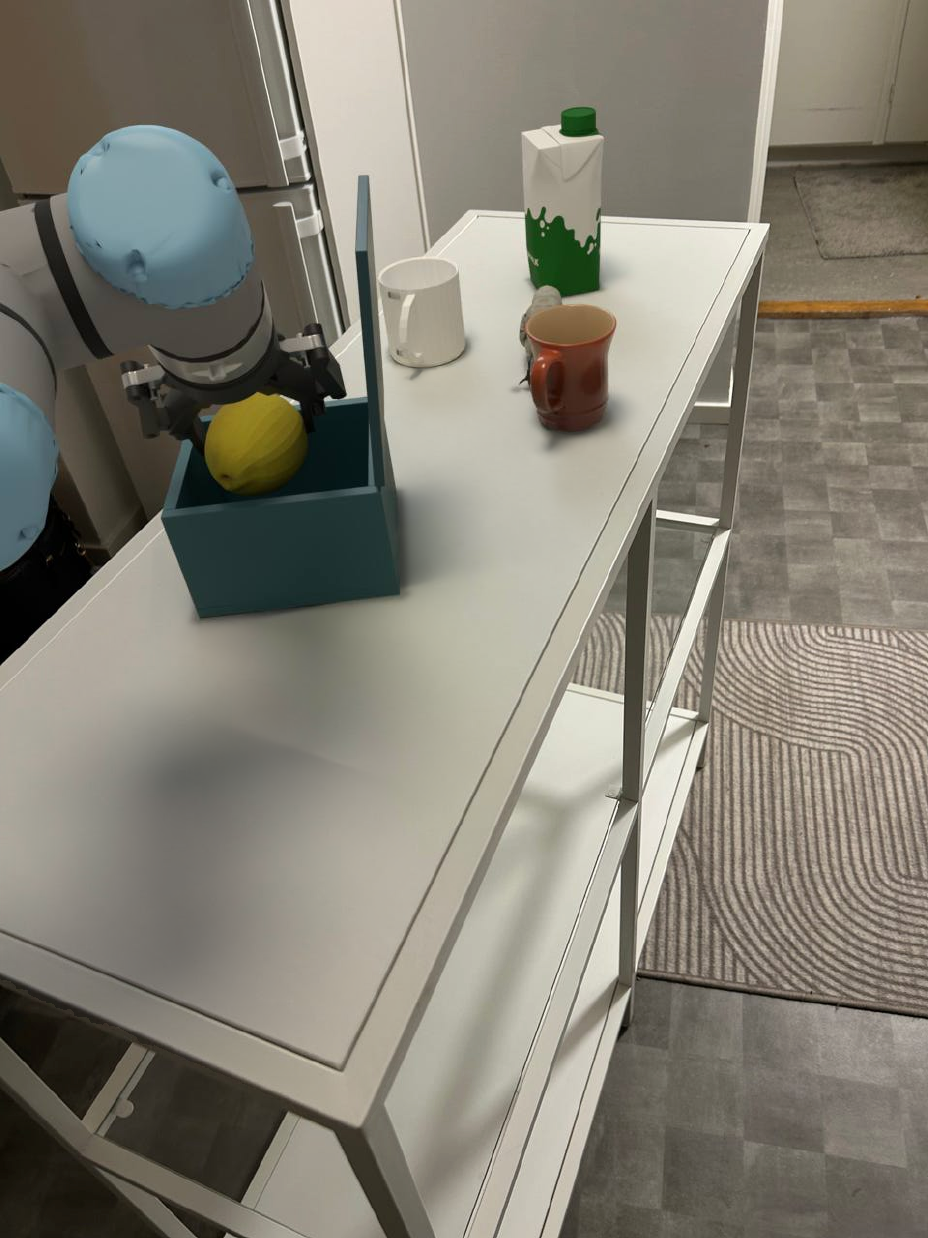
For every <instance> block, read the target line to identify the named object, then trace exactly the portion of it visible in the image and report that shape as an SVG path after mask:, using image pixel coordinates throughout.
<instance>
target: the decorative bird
mask: <svg viewBox="0 0 928 1238" xmlns="http://www.w3.org/2000/svg"><path fill="white" fill-rule="evenodd" d="M559 305H564V303H563V299H562V297H561V296H560V293H559V291H558V290H557V289H556V288H554V287H551V286H547V285H546V286H543V287H541V288H539V289H538V288H537V289H536V290H535V292H534V294H533V297H532V300H531V304H530V305H529V307H527V310H526V311H525V313H524V314H522V317H521V321H520V325H519V337H518V338H519V341H520V344H521V347H523V348H524V349H525V355H526V361H527V369H526V374H525V375H524V376H525V377H524V378H522V379H521V380H520V381H519V384H518V386H520V385H521V384H522V383H524V382H527V385H528V388H531V387H530V375H531V369H532V367H531V366H532V365H531V364H532V360H533V361H534V356H533V352H532V348H531V345H530V342H529V340H528V337H527V335H526V332H525V324H526V322H527V321H528V319H529V318H530V317H531V316H533V315H534V314H536V313H537V312H539V311H541V310H544V309H547V308H550V307H554V306H559Z"/></svg>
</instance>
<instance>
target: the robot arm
mask: <svg viewBox="0 0 928 1238" xmlns="http://www.w3.org/2000/svg"><path fill="white" fill-rule="evenodd" d="M146 346H147V348H148V349H149V350H150V352H151V353H152V355H153V356H154V359H155V360H156V361H157V365H154V366H152V365H151V364H149V363H145V364H141V363H140V362H138V361H136V360H131V359H128V360H124V361H122V362H120V363H119V365H118V368H119V370H120V371H119V372H120V375H121V379H122V384H123V388H124V392H125V398H126V401H127V402H128V403H130V404H131V405H133V406H134V407H135V409H136V412H137V417H138V422H139V426H140V429H141V434H142V437H143V439H146V440H153V439H155V438H158V437H160V432H168V436H171V437H174V439H175V440H176V441H179V442H183V440H187V439H189V440H190V441H191V442H192V444H193V445H194V447H195V448H196V449H197V451H198V452H199V453H200V455H201V456H204V455H205V449H204V448H205V440H206V433H205V429H204V425H203V422H202V421H201V419H200V417H199V416H200V415H199V414H200V413H201V411H202V410H205V409H206V410H207V409H210V408H211V407H212V405H216V406H224V405H227V404H233V403H237V402H240V401H243V400H245V399H247V398H249V397H251V396H253V395H254V394H256V393H257V392H259V393H261V394H264V395H267V396H270V395H273V394H276V395H279V396H281V397H282V396H283V397H285V398H288V399H291V400H293V401H296V402H298V403H299V404H298V405H300V408H301V412H302V416H303V420H304V424H305V427H306V432H307V434H308V433H313V432H315V427H314V422H313V417H312V416H320V415H323V414H325V413H327V410H326V406H325V399H326V398H328V397H330V398H331V399H332V400H342V399H346V397H347V396H348V393H347V388H346V385H345V381H344V377H343V373H342V369H341V364H340V363H339V361H338V360H337V359H336V357H335V356H334V354H333V353H332V351H331V350H330V349H329V348H328V346H327V341H326V338H325V333H324V330H323V327H322V324H321V323H318V322H316V323H315V322H313V323H309V324H307V325H306V326H304V328H303V332H299V333H297V334H295V337H292V338H286V337H285V336H284V334H283V333H282V332H281V331H277V330H276V326H275V321H274V318H273V315H272V310H271V306H270V302H269V298H268V294H267V291H266V286H265V283H264V279H263V277H262V274H261V269H260V265H259V260H258V256H257V252H256V246H255V238H254V237H253V234H252V229H251V227H250V224H249V220H248V218H247V215H246V212H245V209H244V206H243V203H242V202H241V199H240V197H239V194H238V191H237V188H236V186H235V184H234V182H233V180H232V179H231V177H230V175H229V173H228V170H227V169H226V168H225V166H224V165H223V164H222V163H221V161H220V159H218V157H217V156H216V155H215V154H214V153H213V152H212V151H211V150H210V149H209V148H208V147H207V146H206V145H204V144H203V143H201V142H200V141H199V140H197V139H195V138H193V137H192V136H190V135H188V134H186V133H184V132H182V131H179V130H177V129H175V128H170V127H166V126H162V125H153V124H138V125H129V126H125V127H121V128H118V129H116V130H113V131H111V132H109V133H107V134H105V135H104V136H103V137H102V138H101V139H100V140H99V141H97V142H96V143H95V144H94V145H93V146H92V147H91V148H90V149H89V150H88V151H86V153H84V154H82V155H81V156H80V157H79V159H78V160H77V162H76V164H75V165H74V168H73V170H72V172H71V174H70V178H69V180H68V186H67V190H66V192H64V193H59V194H55V195H51V196H50V198H47V199H42V200H39V201H36V202H32V203H28V204H24V205H20V206H16V207H13V208H8V209H4V210H0V572H2V571H3V570H4V569H7V568H9V567H10V566H12V565H13V564H14V563H16V562H17V561H18V560H20V559H21V557H22V556H24V555H25V553H27V551H29V549H30V548H32V545H33V544H34V543H35V542H36V540H38V538H39V536H40V534H41V533H42V532H43V531H44V529H45V526H46V520H47V515H48V511H49V503H50V498H51V497H50V496H51V490H52V488H53V486H54V484H55V481H56V478H57V477H58V476H57V475H58V472H59V467H58V456H59V453H60V446H59V443H58V441H57V435H56V401H57V392H58V373H59V372H62V371H65V370H69V369H72V368H75V367H78V366H82V365H86V364H89V363H92V362H96V361H99V360H103V359H107V358H110V357H114V356H115V355H118V354H121V353H125V352H128V351H132V350H136V349H139V348H143V347H146ZM291 358H295V359H296V360H297V361H299V362H297V361H295V360H294V359H291ZM300 362H301V363H300ZM163 385H165V386H166V387H168V388H170V389H169V391H168V392H167V393H166V392H165V393H163V394H162V393H158V392H159V391H160V390H161V389H162V388H161V386H163ZM159 397H160V398H159ZM159 399H160V401H161V402H160V403H161V406H162V407H157V403H156V402H157V401H158V400H159Z"/></svg>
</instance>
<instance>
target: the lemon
mask: <svg viewBox="0 0 928 1238" xmlns="http://www.w3.org/2000/svg"><path fill="white" fill-rule="evenodd" d="M214 415H215V416H214V418H213V419H212V421H211V423H210V425H209V428H208V431H207V435H206V440H205V448H204V449H205V461H206V463H207V466H208V468H209V470H210V473H211V475H212V476H213V477H214V479H215V480H216V481H217V482H218V483H220V484H221V485H222V486H223V488H224V489H226V490H229V491H231V492H233V493H236V494H239V495H243V496H261V495H266V494H269V493H273V492H275V491H277V490H279V489H280V488H282V487H283V486H285V485H286V484H288V483H289V482H290V481H291V480H292V479H293V478H294V477H295V475H296V474H297V472H298V471H299V470H300V468H301V467H302V465H303V462H304V460H305V457H306V454H307V449H308V437H307V432H306V427H305V424H304V420H303V418H302V416H301V415H300V413H299V412H298V411H297V409H296V408H295V407H294V406H293V404H291V402H289V401H288V400H287V399H285V398H284V397H282V396H281V395H279V394H277V393H276V394H273V395H270V396H267V395H264V394H261V393H259V392H257V393H256V394H254V395H253V396H251V397H249V398H247V399H245V400H243V401H240V402H237V403H233V404H227V405H222V407H221V408H220V409H219V410H218V411H217V412H216V414H214Z"/></svg>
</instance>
